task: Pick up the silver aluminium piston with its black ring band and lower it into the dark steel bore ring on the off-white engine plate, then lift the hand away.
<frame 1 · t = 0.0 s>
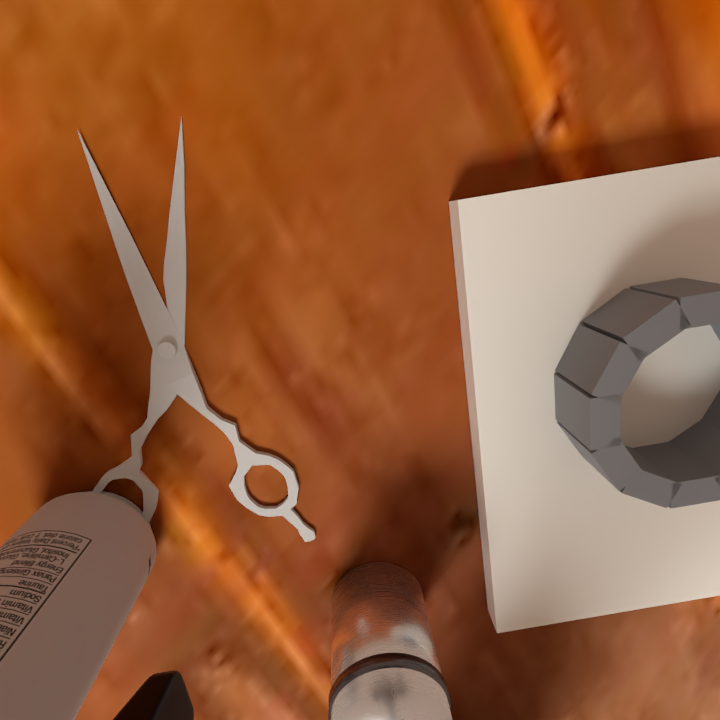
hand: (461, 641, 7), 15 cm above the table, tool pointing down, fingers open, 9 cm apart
piston: (377, 599, 25), on the table
energy drink can: (104, 530, 23), on the table
scissors: (181, 359, 22), on the table
engine plate: (631, 408, 23), on the table
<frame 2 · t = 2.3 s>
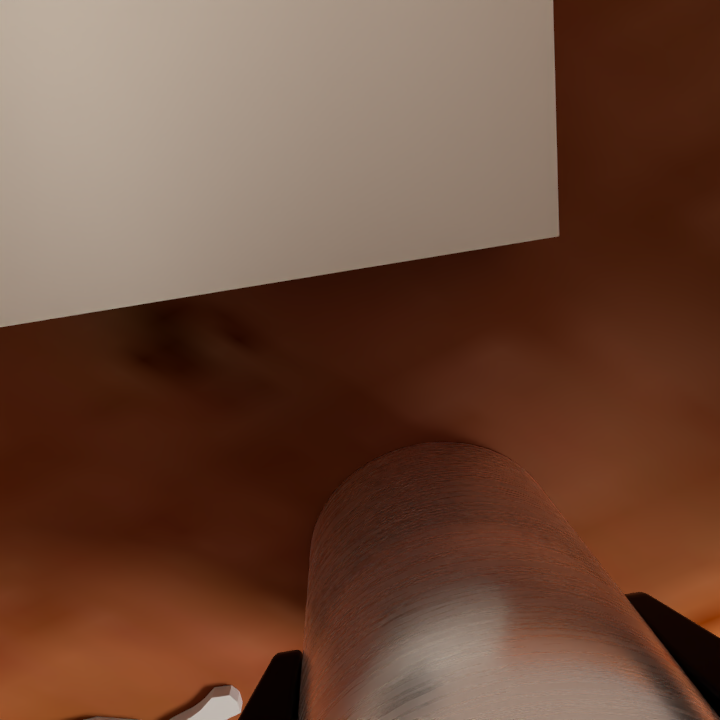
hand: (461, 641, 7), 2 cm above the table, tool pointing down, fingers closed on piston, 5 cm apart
piston: (434, 553, 9), on the table, touching gripper
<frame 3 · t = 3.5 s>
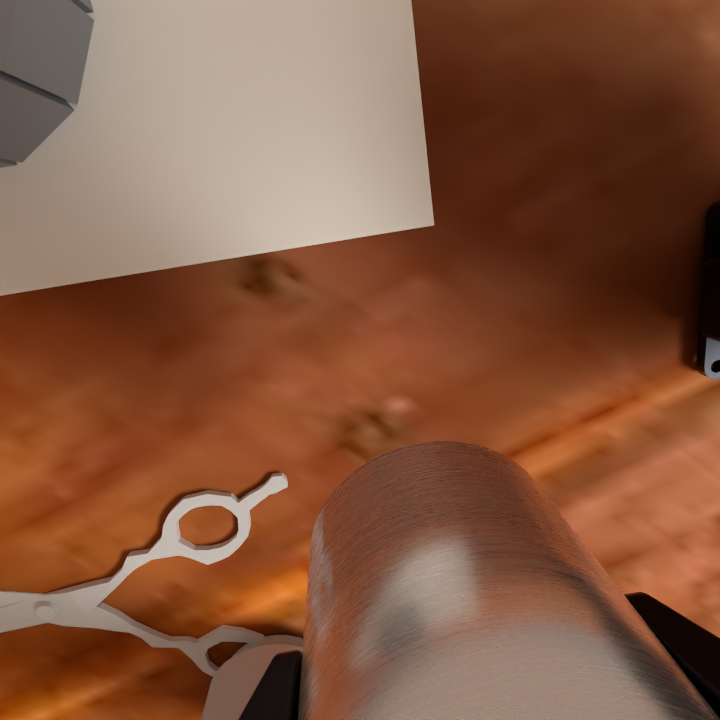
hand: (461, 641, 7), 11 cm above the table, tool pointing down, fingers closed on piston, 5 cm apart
piston: (433, 553, 9), point 9 cm above the table, touching gripper
energy drink can: (280, 671, 22), on the table
scissors: (74, 589, 20), on the table
engine plate: (24, 3, 14), on the table
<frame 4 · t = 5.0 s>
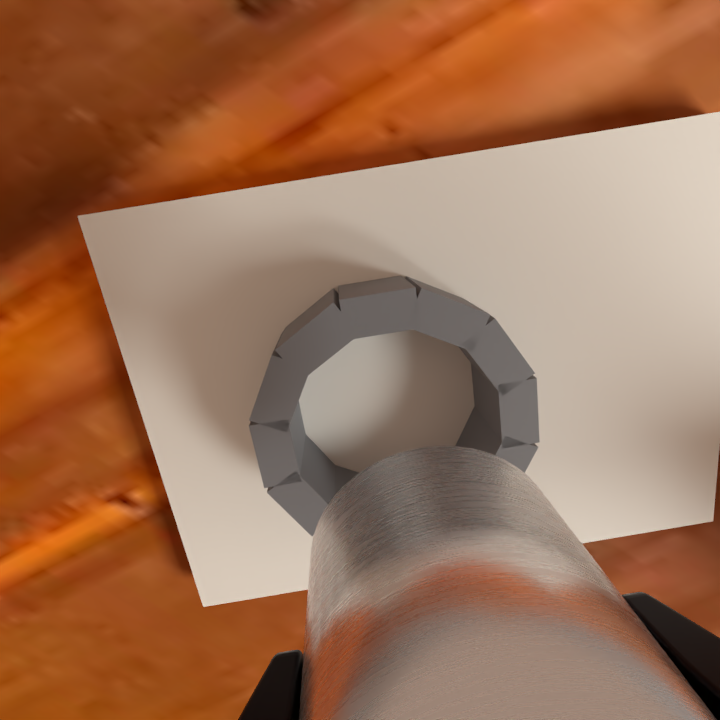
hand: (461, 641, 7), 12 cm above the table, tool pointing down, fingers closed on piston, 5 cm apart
piston: (434, 557, 9), point 10 cm above the table, touching gripper
engine plate: (431, 377, 19), on the table
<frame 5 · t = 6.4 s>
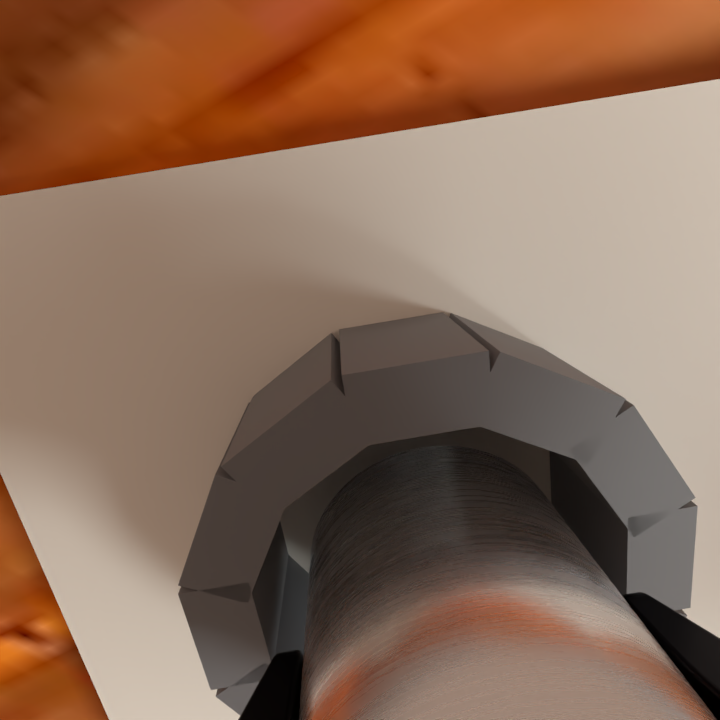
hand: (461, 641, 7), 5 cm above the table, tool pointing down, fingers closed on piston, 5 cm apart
piston: (434, 557, 9), point 3 cm above the table, touching gripper
engine plate: (479, 456, 12), on the table
when the fingers open (5 cm above the table, at t = 7.5 s): piston drops 1 cm, resting on engine plate.
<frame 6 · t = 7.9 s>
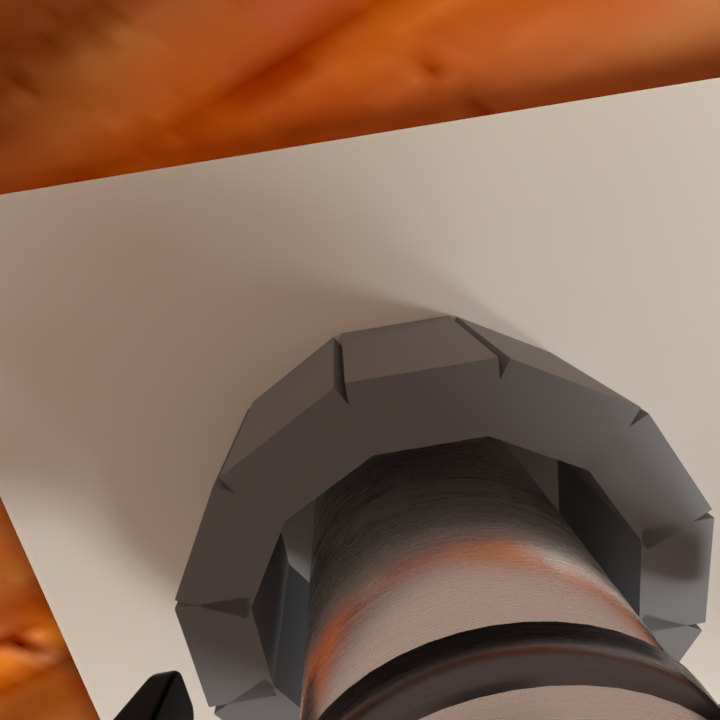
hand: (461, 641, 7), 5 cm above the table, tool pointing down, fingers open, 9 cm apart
piston: (422, 513, 11), point 2 cm above the table, touching engine plate
engine plate: (484, 463, 12), on the table
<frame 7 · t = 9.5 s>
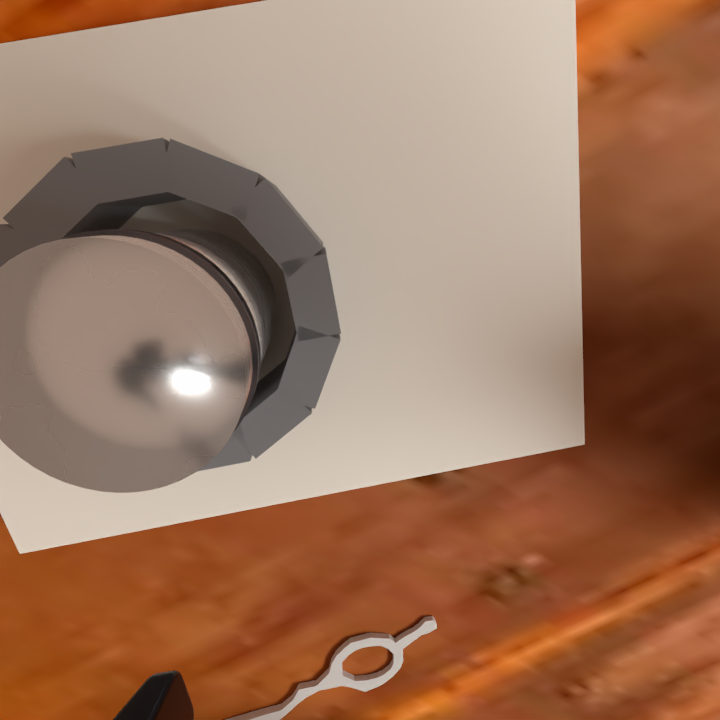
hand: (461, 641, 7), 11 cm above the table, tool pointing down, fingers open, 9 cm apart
piston: (200, 307, 15), point 2 cm above the table, touching engine plate
scissors: (242, 712, 24), on the table
engine plate: (264, 287, 17), on the table
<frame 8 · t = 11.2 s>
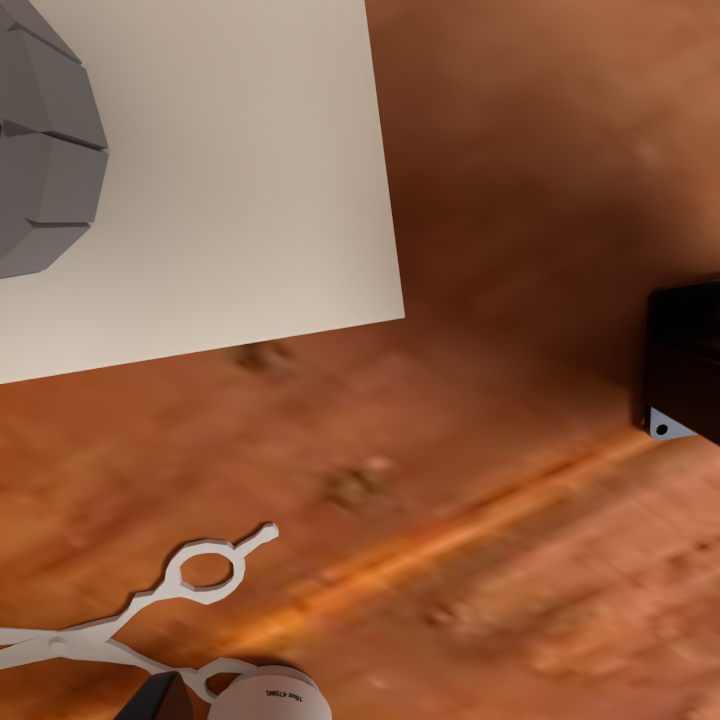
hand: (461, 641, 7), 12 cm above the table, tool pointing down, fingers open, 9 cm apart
energy drink can: (273, 698, 24), on the table
scissors: (84, 625, 22), on the table
engine plate: (47, 131, 16), on the table
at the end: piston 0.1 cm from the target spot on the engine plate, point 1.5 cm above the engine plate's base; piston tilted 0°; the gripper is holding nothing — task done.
